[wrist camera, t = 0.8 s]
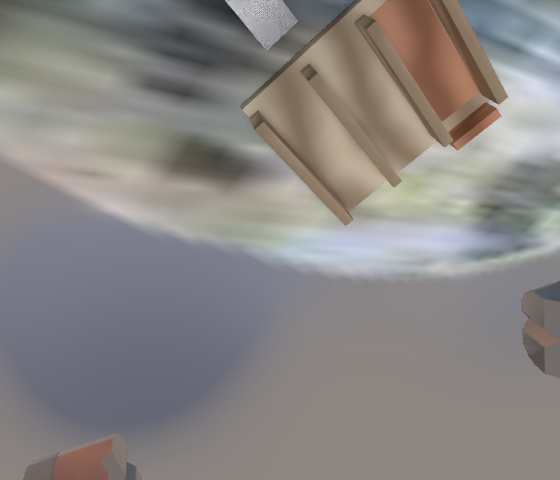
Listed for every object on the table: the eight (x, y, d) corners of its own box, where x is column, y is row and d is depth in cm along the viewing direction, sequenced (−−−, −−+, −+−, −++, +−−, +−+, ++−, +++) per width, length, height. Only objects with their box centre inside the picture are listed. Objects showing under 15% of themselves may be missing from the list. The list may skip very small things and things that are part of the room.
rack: (410, -51, 41) (432, -47, 37) (492, 99, 50) (516, 112, 46) (240, 106, 45) (246, 121, 42) (344, 217, 54) (356, 237, 51)
